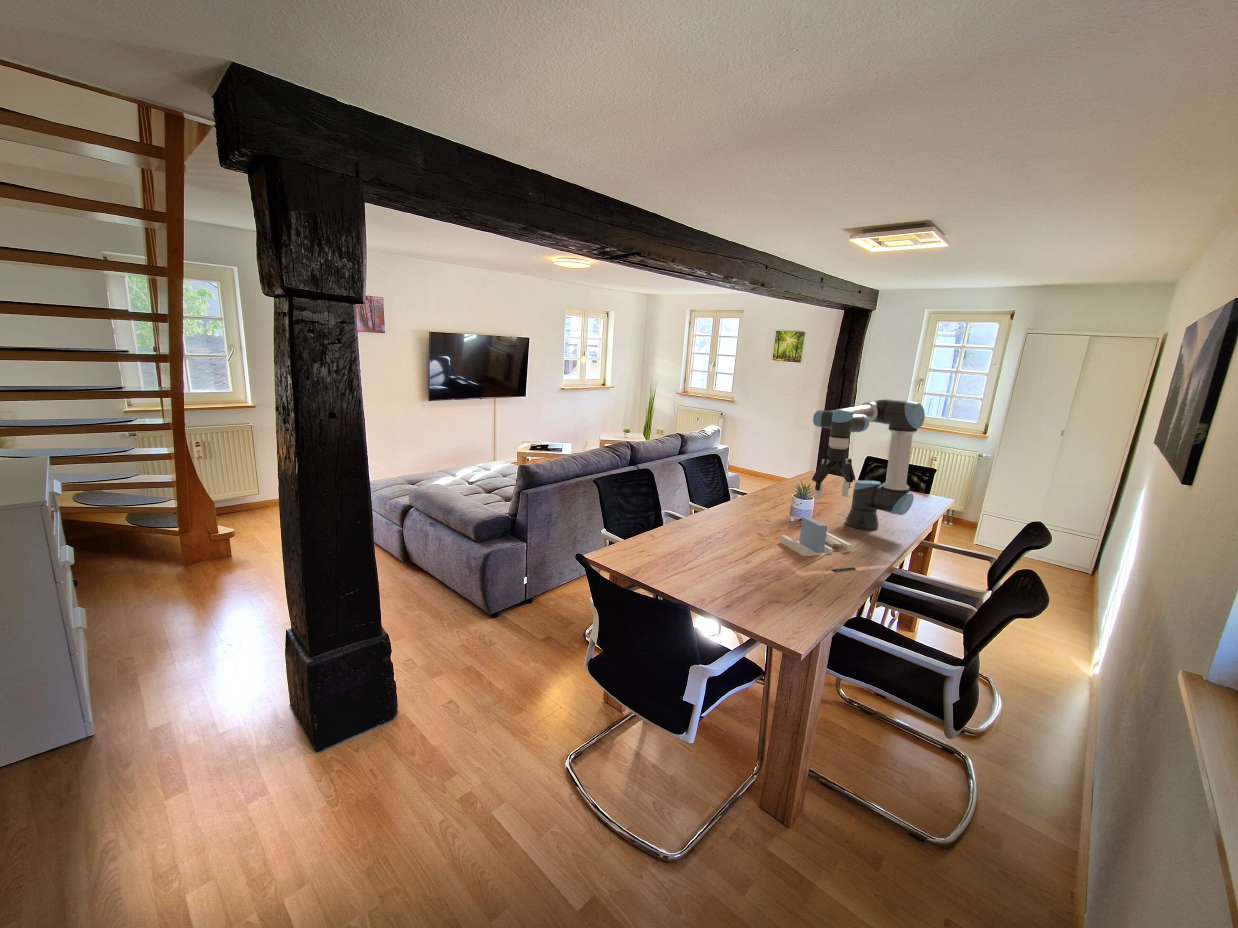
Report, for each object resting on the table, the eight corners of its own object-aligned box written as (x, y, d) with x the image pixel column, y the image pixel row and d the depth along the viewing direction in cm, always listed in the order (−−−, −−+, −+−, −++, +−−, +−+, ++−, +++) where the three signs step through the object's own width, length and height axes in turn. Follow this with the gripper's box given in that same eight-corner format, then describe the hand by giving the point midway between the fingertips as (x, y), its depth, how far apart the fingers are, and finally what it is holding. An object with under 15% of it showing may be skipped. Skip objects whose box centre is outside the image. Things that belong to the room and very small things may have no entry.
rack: (825, 540, 225) (826, 531, 224) (850, 554, 210) (851, 544, 209) (780, 544, 219) (781, 535, 218) (803, 558, 204) (804, 548, 203)
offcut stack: (822, 539, 223) (823, 533, 223) (844, 551, 210) (845, 544, 210) (810, 540, 222) (811, 534, 221) (832, 552, 209) (833, 545, 208)
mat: (831, 556, 207) (832, 555, 207) (856, 570, 194) (856, 568, 194) (811, 558, 204) (812, 557, 204) (835, 572, 191) (835, 571, 191)
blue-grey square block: (805, 541, 220) (808, 516, 217) (823, 552, 209) (827, 525, 206) (799, 542, 219) (802, 517, 216) (816, 552, 208) (820, 526, 205)
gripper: (855, 445, 208) (848, 493, 213) (806, 446, 201) (800, 495, 205) (869, 448, 202) (861, 498, 206) (819, 449, 194) (812, 500, 198)
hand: (831, 497), depth 206 cm, fingers open, 13 cm apart
